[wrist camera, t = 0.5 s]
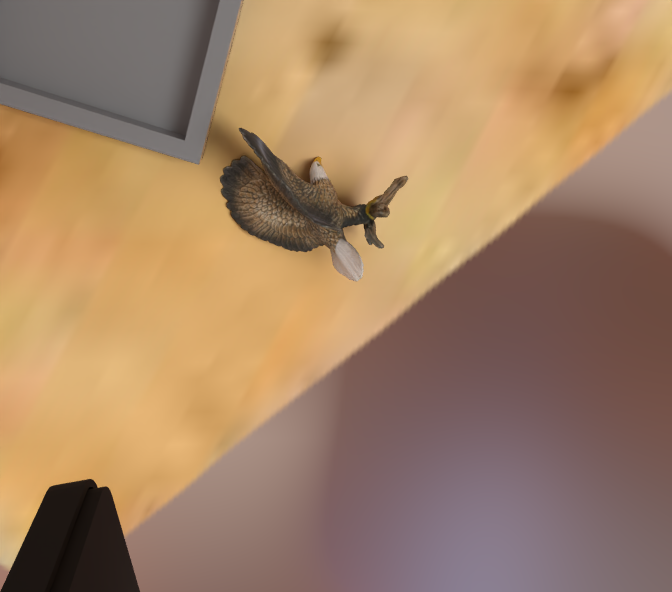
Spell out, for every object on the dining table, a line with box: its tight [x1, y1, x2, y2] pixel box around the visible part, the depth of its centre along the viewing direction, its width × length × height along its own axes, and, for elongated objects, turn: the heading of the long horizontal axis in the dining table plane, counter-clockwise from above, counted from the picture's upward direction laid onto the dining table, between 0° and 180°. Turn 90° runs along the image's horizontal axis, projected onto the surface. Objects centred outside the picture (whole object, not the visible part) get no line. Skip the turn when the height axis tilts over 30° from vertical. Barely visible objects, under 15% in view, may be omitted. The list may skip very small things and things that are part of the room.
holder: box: [0, 0, 244, 165], centre depth 32 cm, size 12×13×2 cm
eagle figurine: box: [220, 128, 408, 281], centre depth 35 cm, size 8×7×9 cm
